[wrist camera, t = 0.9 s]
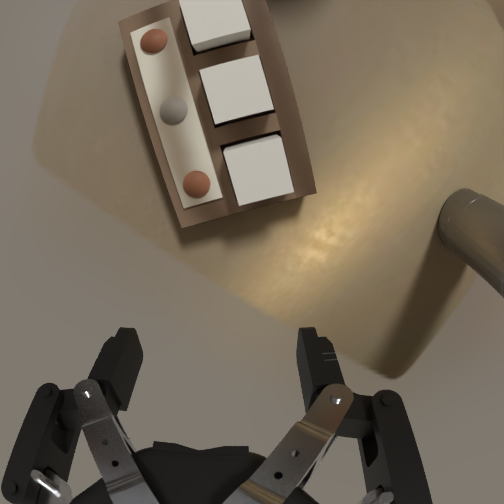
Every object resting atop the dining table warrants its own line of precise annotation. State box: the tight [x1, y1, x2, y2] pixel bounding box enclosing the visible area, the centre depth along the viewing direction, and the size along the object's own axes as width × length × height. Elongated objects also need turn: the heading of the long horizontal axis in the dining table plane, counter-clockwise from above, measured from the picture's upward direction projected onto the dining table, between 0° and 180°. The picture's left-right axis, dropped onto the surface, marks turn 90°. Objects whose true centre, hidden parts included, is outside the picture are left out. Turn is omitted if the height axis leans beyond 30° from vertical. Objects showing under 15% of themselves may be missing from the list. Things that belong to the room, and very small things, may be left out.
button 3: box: [179, 0, 251, 53], centre depth 20 cm, size 5×5×4 cm
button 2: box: [199, 55, 274, 124], centre depth 23 cm, size 5×5×4 cm
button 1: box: [223, 135, 294, 206], centre depth 27 cm, size 5×5×4 cm
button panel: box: [118, 0, 317, 228], centre depth 26 cm, size 14×23×4 cm, turn 15°
